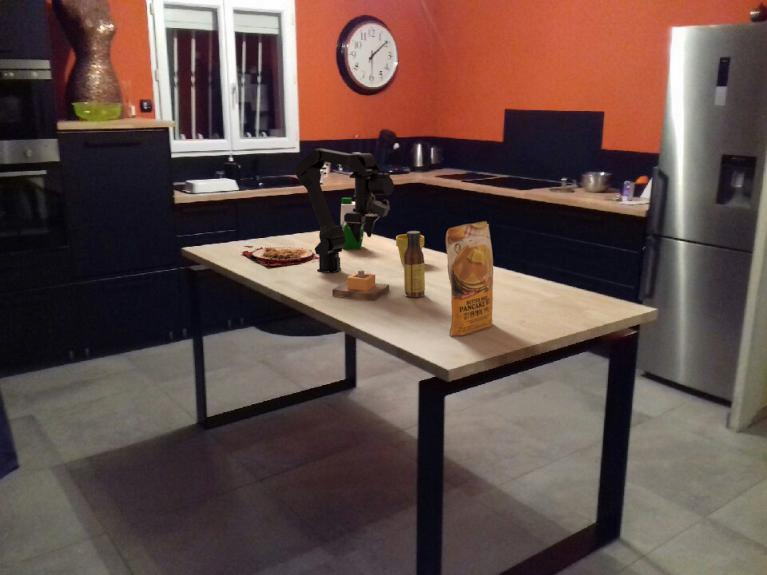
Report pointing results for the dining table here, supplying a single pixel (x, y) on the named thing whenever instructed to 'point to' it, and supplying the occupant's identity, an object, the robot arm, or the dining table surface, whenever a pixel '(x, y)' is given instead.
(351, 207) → the milk carton
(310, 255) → the plate with food
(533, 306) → the dining table surface
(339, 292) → the brown peg board
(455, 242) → the pancake mix bag
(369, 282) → the orange square ring
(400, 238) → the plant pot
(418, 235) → the sauce bottle
